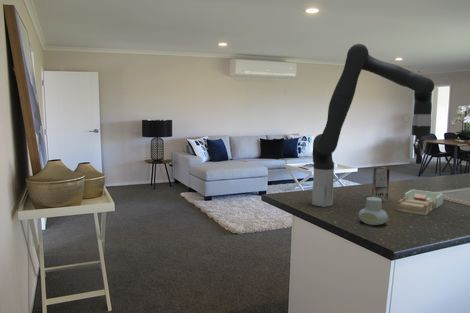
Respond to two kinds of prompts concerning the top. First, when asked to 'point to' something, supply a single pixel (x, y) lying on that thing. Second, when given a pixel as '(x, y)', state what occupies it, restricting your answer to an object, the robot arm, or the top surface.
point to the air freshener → (373, 212)
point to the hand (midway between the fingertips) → (418, 163)
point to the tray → (433, 195)
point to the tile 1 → (420, 197)
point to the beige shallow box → (415, 206)
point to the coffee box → (380, 183)
